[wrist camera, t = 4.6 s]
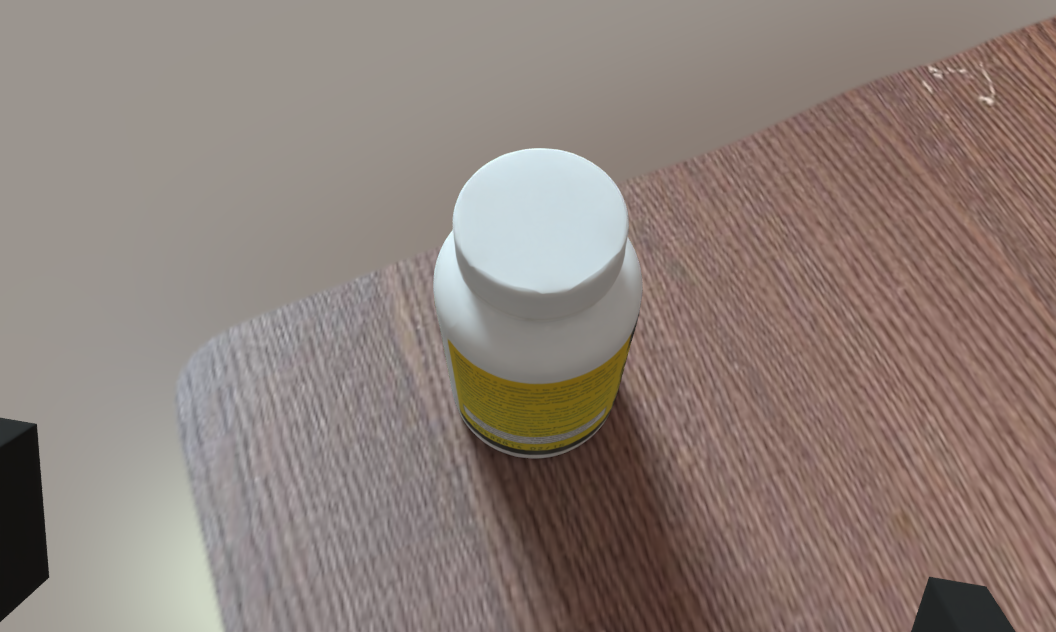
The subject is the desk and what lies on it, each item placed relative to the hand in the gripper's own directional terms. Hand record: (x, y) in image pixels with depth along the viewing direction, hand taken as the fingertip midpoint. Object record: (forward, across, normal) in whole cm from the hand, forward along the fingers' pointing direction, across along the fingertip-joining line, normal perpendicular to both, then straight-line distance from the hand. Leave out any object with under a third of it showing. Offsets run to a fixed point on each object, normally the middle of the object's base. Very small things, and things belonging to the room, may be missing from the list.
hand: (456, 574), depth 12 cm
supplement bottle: (+15, 0, -3) cm, 15 cm away
